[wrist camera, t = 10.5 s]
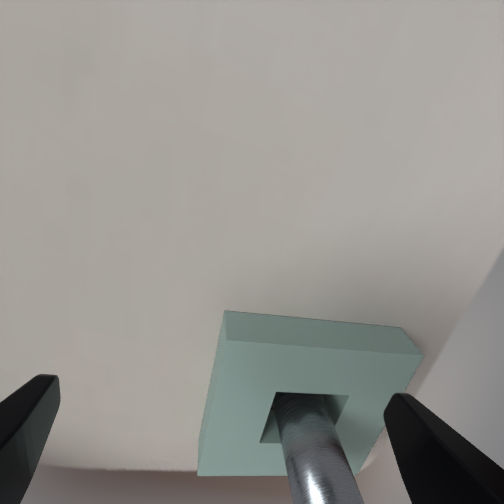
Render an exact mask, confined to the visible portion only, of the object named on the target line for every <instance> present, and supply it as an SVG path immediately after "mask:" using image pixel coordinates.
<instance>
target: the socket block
mask: <svg viewBox="0 0 504 504" xmlns="http://www.w3.org/2000/svg"><path fill="white" fill-rule="evenodd" d="M423 357H424V355H423V354H422V353H421V351H420V350H419V349H418V348H417V347H416V345H415V344H414V343H413V342H412V341H411V339H410V338H409V337H408V336H407V335H406V333H405V332H404V331H403V330H402V329H401V328H398V327H387V326H377V325H367V324H357V323H346V322H336V321H326V320H315V319H305V318H295V317H285V316H274V315H264V314H254V313H243V312H233V311H224V316H223V321H222V326H221V331H220V336H219V341H218V346H217V351H216V356H215V361H214V366H213V371H212V376H211V381H210V386H209V391H208V396H207V401H206V406H205V411H204V416H203V421H202V426H201V431H200V436H199V447H198V471H197V475H198V476H275V475H276V476H280V475H281V476H282V475H283V476H284V475H285V476H286V475H287V470H286V465H285V461H284V456H283V451H282V446H281V441H280V436H279V432H278V427H277V422H276V417H275V412H274V409H271V406H272V403H273V399H274V396H275V393H276V392H292V393H313V394H322V395H323V397H324V400H325V403H326V405H327V408H328V410H329V413H330V416H331V418H332V421H333V423H334V426H335V429H336V431H337V434H338V436H339V439H340V442H341V444H342V447H343V449H344V452H345V455H346V457H347V460H348V462H349V465H350V468H351V470H352V473H353V475H357V474H358V472H359V470H360V468H361V467H362V465H363V463H364V461H365V459H366V458H367V456H368V454H369V452H370V451H371V449H372V447H373V445H374V444H375V442H376V440H377V438H378V436H379V435H380V433H381V431H382V429H383V428H384V426H385V422H384V418H383V413H384V410H385V408H386V406H387V404H388V402H389V401H390V399H391V397H392V395H393V394H395V393H403V392H404V391H405V389H406V387H407V385H408V384H409V382H410V380H411V378H412V376H413V375H414V373H415V371H416V369H417V368H418V366H419V364H420V362H421V361H422V359H423ZM287 476H288V475H287Z"/></svg>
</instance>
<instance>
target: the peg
mask: <svg viewBox="0 0 504 504" xmlns="http://www.w3.org/2000/svg"><path fill="white" fill-rule="evenodd" d="M273 407H274V412H275V417H276V422H277V427H278V432H279V436H280V441H281V446H282V451H283V456H284V461H285V465H286V470H287V475H288V480H289V485H290V490H291V494H292V499H293V504H364V502H363V499H362V496H361V494H360V491H359V489H358V486H357V483H356V481H355V478H354V476H353V473H352V470H351V468H350V465H349V462H348V460H347V457H346V455H345V452H344V449H343V447H342V444H341V442H340V439H339V436H338V434H337V431H336V429H335V426H334V423H333V421H332V418H331V416H330V413H329V410H328V408H327V405H326V403H325V400H324V397H323V395H322V394H313V393H292V392H276V393H275V396H274V399H273Z"/></svg>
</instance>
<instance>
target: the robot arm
mask: <svg viewBox="0 0 504 504" xmlns="http://www.w3.org/2000/svg"><path fill="white" fill-rule="evenodd" d="M59 405H60V387H59V378H58V376H57V375H49V374H39V375H37V376H35V377H34V378H32V379H31V380H30V381H28V382H27V383H26V384H24V385H23V386H22V387H20V388H19V389H18V390H16V391H15V392H14V393H12V394H11V395H10V396H8V397H7V398H6V399H4V400H3V401H2V402H0V504H20V503H21V501H22V499H23V497H24V494H25V492H26V490H27V488H28V486H29V484H30V481H31V479H32V477H33V474H34V472H35V469H36V467H37V464H38V462H39V459H40V456H41V454H42V451H43V448H44V446H45V443H46V441H47V438H48V435H49V433H50V430H51V427H52V425H53V422H54V419H55V417H56V414H57V411H58V409H59ZM383 418H384V422H385V425H386V429H387V432H388V435H389V438H390V442H391V445H392V448H393V451H394V455H395V457H396V461H397V464H398V467H399V470H400V473H401V476H402V479H403V482H404V484H405V487H406V490H407V492H408V494H409V497H410V500H411V502H412V504H504V469H502V468H501V467H500V466H499V465H497V464H496V463H495V462H494V461H492V460H491V459H490V458H489V457H487V456H486V455H485V454H484V453H482V452H481V451H480V450H479V449H477V448H476V447H475V446H474V445H472V444H471V443H470V442H469V441H467V440H466V439H465V438H464V437H462V436H461V435H460V434H459V433H458V432H456V431H455V430H454V429H452V428H451V427H450V426H449V425H448V424H446V423H445V422H444V421H443V420H441V419H440V418H439V417H438V416H436V415H435V414H434V413H433V412H431V411H430V410H429V409H428V408H426V407H425V406H424V405H423V404H421V403H420V402H419V401H418V400H416V399H415V398H414V397H413V396H411V395H410V394H407V393H395V394H393V395H392V397H391V399H390V401H389V402H388V404H387V406H386V408H385V410H384V413H383Z"/></svg>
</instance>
